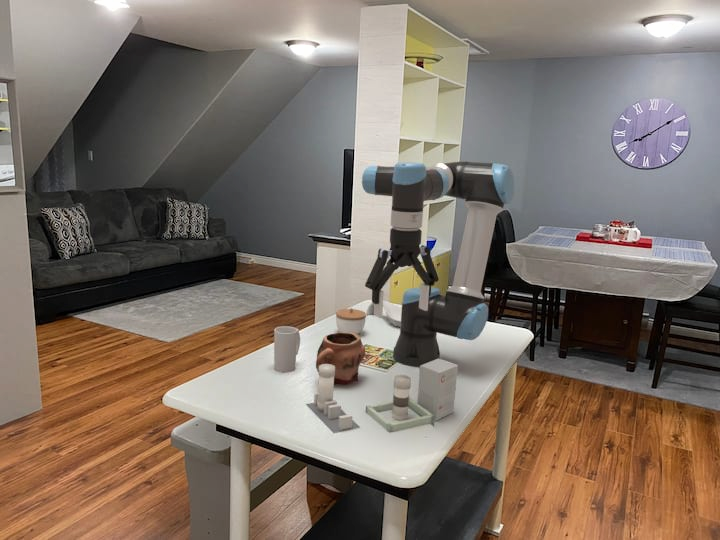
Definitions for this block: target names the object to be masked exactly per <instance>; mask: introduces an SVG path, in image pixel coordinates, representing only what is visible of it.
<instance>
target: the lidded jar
mask: <svg viewBox="0 0 720 540" xmlns="http://www.w3.org/2000/svg"><path fill="white" fill-rule="evenodd" d="M366 317H367V314H366V311H363V310H359V309H355V308H352V307H351V308H342V309H338V310H337V311H336V313H335V319H336V320H335V323H336V327H337V329H338V331H339V332H344V333H355V334H357V335H359V334H361V332H362V331H363V329H364V328H365V324H366Z"/></svg>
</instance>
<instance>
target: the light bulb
mask: <svg viewBox="0 0 720 540" xmlns="http://www.w3.org/2000/svg"><path fill="white" fill-rule="evenodd" d="M411 383H412V378H411V376H408V375H403V374H400V375H399V374H398V375H395V376H394V380H393V386H394V387H393V389H394V390H393V397H392V398H393V399H392V401H393V409H392V410H391V418H392V419H393V420H395V421H396V422H399V421H404V420H408V418H409V412H408V411H409V407H408V404H409V398H410V388H411Z"/></svg>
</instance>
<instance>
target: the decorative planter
mask: <svg viewBox="0 0 720 540" xmlns="http://www.w3.org/2000/svg"><path fill="white" fill-rule="evenodd" d="M316 353H317V354H316V361H315V368H316V371H317V372H318V373H317V374H319V366H320V365H322V364H331V365H334V366H335V376H334V386H335V385H336V386H337V385H338V386H339V385H340V386H344V385H345V386H346V385H349V384H350V385H351V384H353V383H354V382H358V381H359V367H360V365H361V363H362V361H363V360H364V358H365V355H366V348H365V346H364V344H363V342H362V338H361V336H360V335H359V334H358V335H357V334H355V333H344V332H340V331H339V332H334V333H330V334H327V335H325V336H324V337H323V339H322V341H321V343H320V345H319V347H318V350H317V352H316Z"/></svg>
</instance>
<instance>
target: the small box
mask: <svg viewBox="0 0 720 540" xmlns="http://www.w3.org/2000/svg"><path fill="white" fill-rule="evenodd" d="M458 367H459V366H458V364H455V363H453V362H450V361H447V360H444V359H442V358H440V359H439V358H438V359H436V360H433V361H431V362H428V363H426V364H423V365H420V367H419V375H418V376H419V378H418V391H417V401H416V403H417V404H419V405H420V406H422V407H423V408H424V409H426V410H427V411H428V412H430V413H431V414H433V415H434V416H435V419H434V420H435V421H434V422H437V421H439V420H441V419H442V417H443V418H444V417H446V416H448V415H450V414H452V413H454V412H455V411H454V410H455V399H456V392H457V391H456V389H457V377H458ZM453 411H454V412H453Z"/></svg>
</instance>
